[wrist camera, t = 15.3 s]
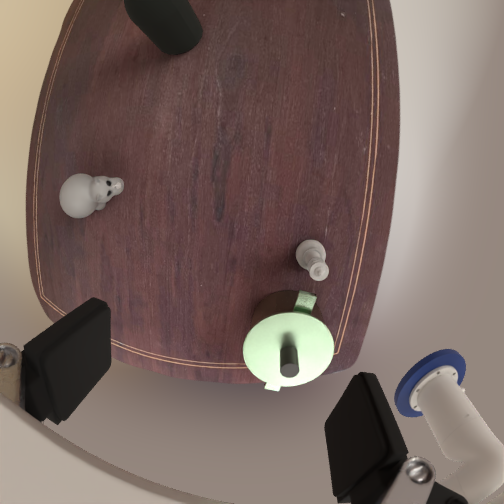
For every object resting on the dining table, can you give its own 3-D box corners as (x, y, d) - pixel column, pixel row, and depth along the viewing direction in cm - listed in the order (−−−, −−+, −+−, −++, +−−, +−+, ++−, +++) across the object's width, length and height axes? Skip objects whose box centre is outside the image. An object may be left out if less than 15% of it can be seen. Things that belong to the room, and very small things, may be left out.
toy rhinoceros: (137, 207, 41) (109, 213, 33) (84, 216, 42) (53, 223, 34) (133, 164, 39) (104, 161, 31) (80, 178, 41) (49, 179, 32)
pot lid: (346, 320, 34) (355, 339, 29) (314, 387, 37) (317, 410, 32) (256, 298, 34) (253, 316, 29) (235, 371, 37) (229, 393, 32)
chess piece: (324, 238, 40) (339, 254, 30) (324, 267, 41) (337, 291, 31) (295, 239, 40) (301, 256, 30) (295, 268, 41) (301, 292, 31)
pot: (336, 284, 41) (349, 306, 33) (302, 368, 45) (306, 399, 37) (266, 266, 41) (264, 285, 33) (241, 354, 45) (234, 384, 37)
